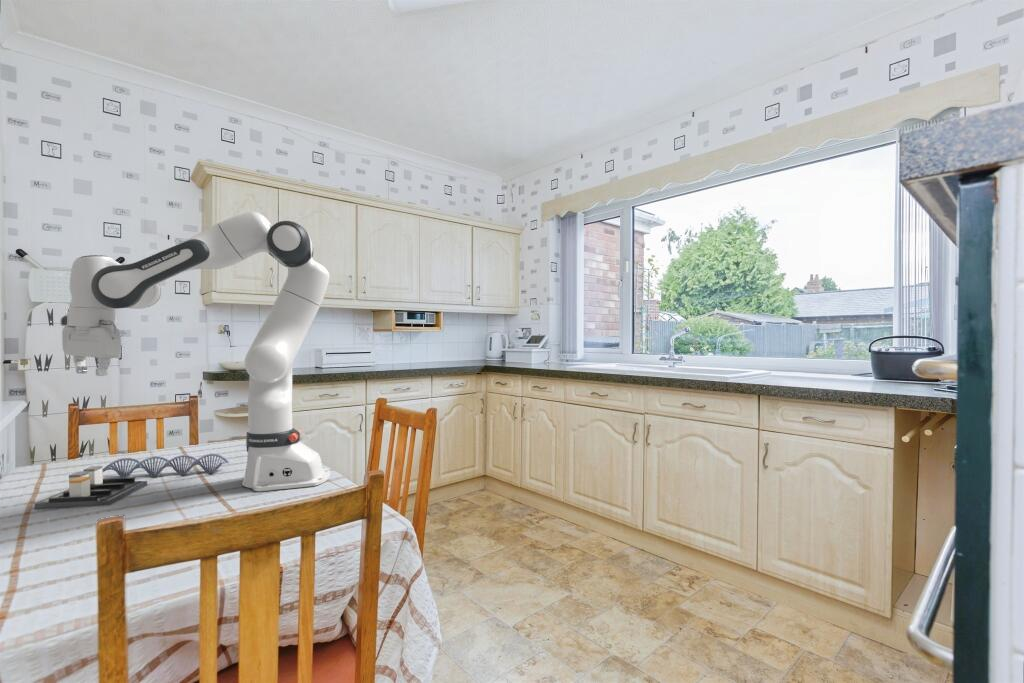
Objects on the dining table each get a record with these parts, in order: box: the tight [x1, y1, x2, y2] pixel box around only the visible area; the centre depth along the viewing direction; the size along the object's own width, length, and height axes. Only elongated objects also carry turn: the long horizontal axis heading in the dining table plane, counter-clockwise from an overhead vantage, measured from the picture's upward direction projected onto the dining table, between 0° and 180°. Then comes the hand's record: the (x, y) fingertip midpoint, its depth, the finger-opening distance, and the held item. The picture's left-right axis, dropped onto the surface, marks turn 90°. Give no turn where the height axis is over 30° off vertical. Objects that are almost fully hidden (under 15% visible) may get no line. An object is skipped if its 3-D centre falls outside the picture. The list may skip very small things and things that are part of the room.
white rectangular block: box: [68, 470, 89, 482], centre depth 123 cm, size 2×3×5 cm
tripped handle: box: [68, 477, 90, 497], centre depth 118 cm, size 2×3×5 cm
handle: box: [83, 465, 104, 484], centre depth 128 cm, size 2×3×5 cm
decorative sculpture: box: [102, 453, 230, 478], centre depth 141 cm, size 6×31×6 cm, turn 102°
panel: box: [34, 477, 148, 509], centre depth 123 cm, size 16×15×2 cm
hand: (91, 374), depth 123 cm, fingers open, 8 cm apart
